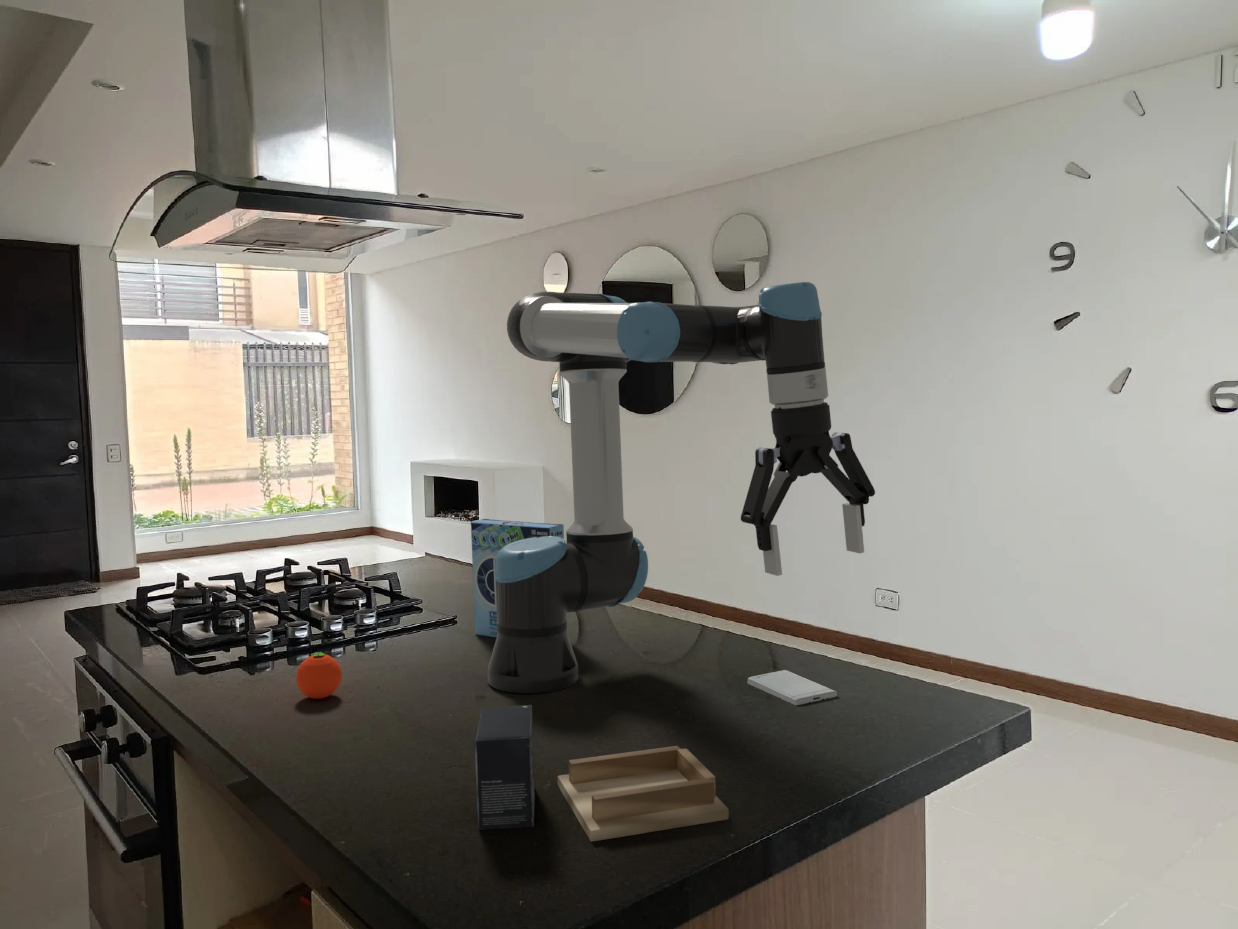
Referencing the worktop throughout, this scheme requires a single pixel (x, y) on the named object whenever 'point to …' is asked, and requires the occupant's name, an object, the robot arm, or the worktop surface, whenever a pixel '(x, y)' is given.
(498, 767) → the small box
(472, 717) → the worktop surface
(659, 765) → the tray
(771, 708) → the worktop surface
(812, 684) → the hard drive
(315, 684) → the clementine
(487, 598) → the gum box
